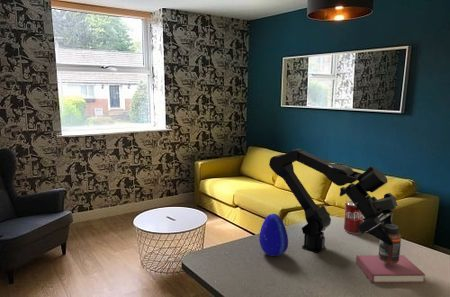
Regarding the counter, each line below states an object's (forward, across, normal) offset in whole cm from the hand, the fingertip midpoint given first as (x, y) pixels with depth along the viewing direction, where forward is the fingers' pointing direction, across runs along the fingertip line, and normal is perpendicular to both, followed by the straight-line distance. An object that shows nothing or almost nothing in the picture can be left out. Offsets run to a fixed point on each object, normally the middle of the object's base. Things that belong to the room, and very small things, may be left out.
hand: (394, 241), depth 104 cm
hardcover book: (+7, 0, +9) cm, 11 cm away
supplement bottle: (+4, 0, +6) cm, 7 cm away
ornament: (-17, -14, +33) cm, 40 cm away
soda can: (-8, +25, +24) cm, 35 cm away
